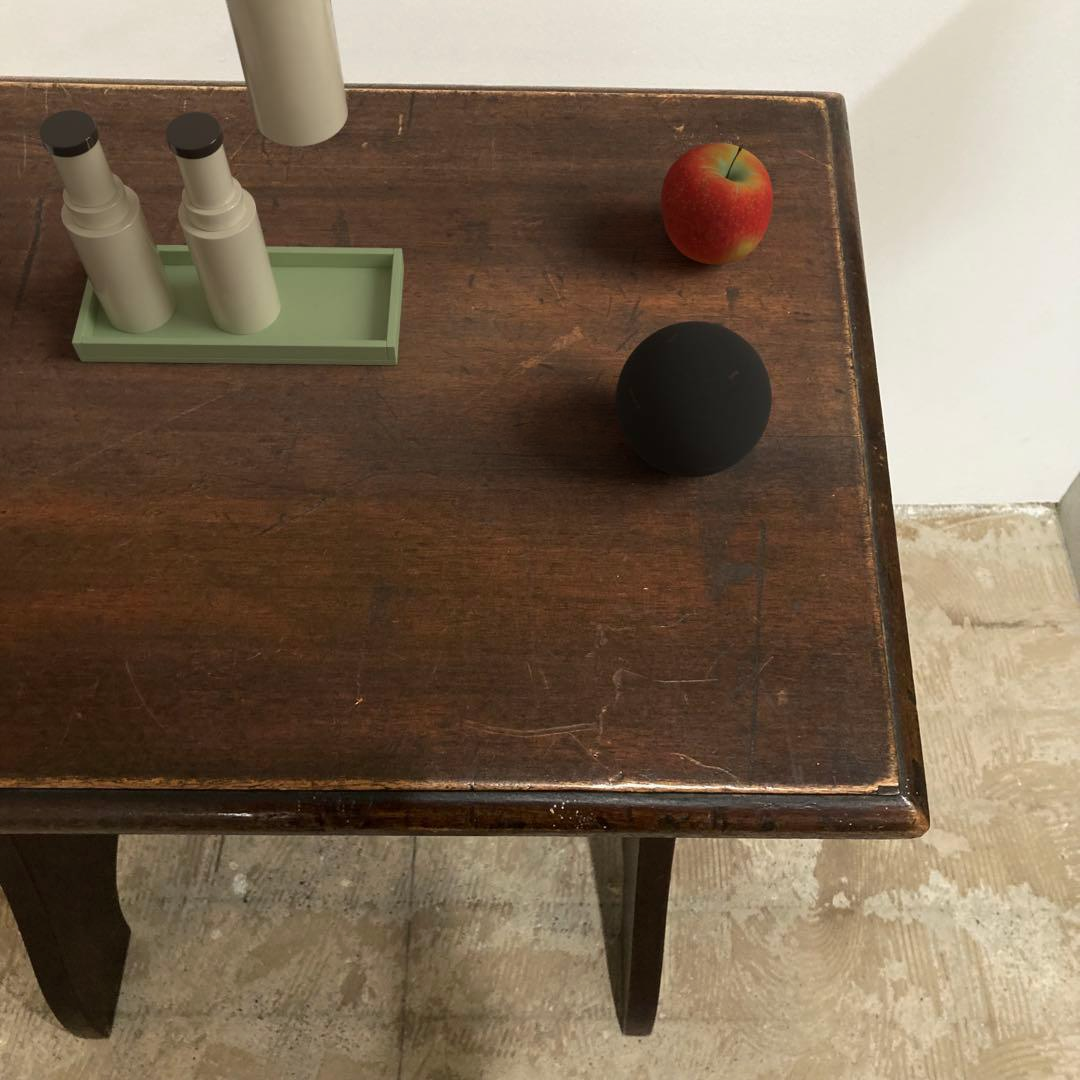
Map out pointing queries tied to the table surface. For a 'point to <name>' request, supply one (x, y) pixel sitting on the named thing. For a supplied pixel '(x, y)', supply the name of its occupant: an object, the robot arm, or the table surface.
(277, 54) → the bottle
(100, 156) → the bottle
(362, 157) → the table surface
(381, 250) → the tray
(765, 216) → the apple
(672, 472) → the black ball
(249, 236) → the bottle
